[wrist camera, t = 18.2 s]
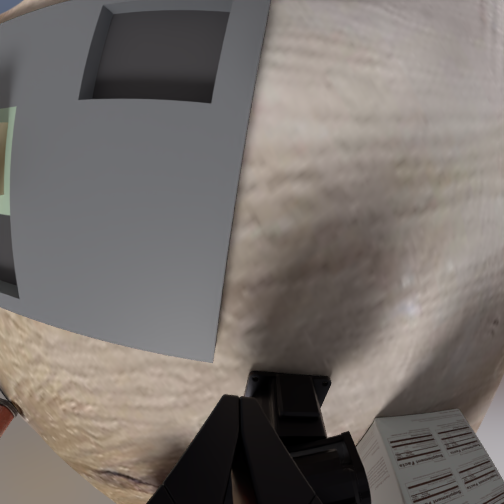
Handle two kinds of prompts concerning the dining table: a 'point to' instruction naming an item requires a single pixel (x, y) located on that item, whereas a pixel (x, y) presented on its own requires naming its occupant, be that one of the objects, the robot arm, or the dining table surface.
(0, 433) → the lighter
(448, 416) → the supplement box
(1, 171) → the maple block
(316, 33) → the dining table surface
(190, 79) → the board
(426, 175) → the dining table surface
